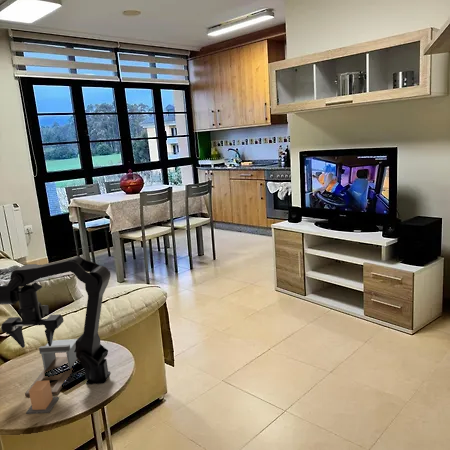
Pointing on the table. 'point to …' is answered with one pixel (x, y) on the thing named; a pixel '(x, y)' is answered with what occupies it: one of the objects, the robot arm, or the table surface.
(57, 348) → the cover
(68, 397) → the table surface
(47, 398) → the block
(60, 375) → the puzzle board
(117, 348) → the table surface
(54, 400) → the mat
